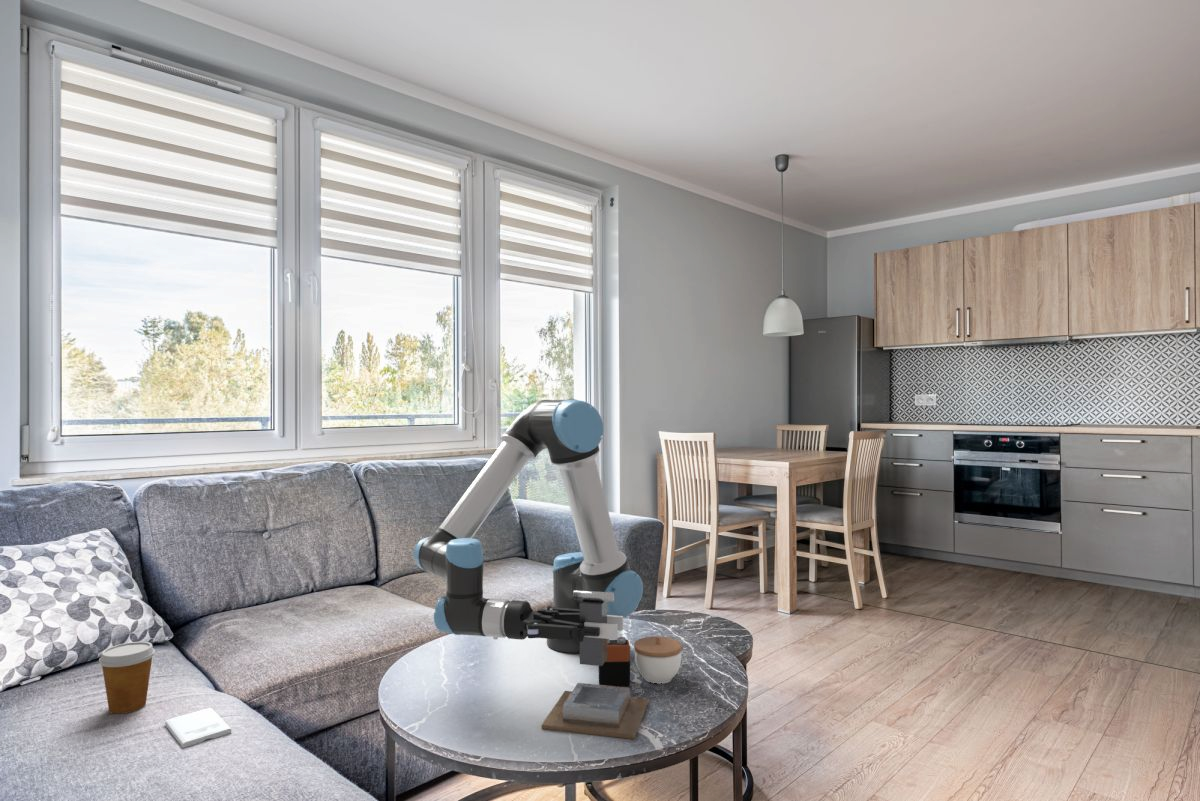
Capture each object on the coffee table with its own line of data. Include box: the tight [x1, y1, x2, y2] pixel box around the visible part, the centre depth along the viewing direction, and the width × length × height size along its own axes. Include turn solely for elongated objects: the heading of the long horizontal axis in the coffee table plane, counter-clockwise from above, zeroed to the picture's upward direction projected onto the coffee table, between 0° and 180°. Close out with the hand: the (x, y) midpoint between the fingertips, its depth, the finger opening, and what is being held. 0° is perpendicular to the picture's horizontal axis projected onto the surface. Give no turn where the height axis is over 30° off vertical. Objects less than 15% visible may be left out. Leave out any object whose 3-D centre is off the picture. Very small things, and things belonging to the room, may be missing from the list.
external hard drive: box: [164, 707, 232, 749], centre depth 134 cm, size 2×8×12 cm
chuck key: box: [573, 590, 614, 667], centre depth 139 cm, size 4×8×14 cm, turn 76°
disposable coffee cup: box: [98, 641, 156, 715], centre depth 144 cm, size 10×10×12 cm
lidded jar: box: [633, 635, 683, 685], centre depth 158 cm, size 11×11×9 cm
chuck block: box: [541, 682, 650, 740], centre depth 140 cm, size 16×18×4 cm
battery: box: [598, 636, 631, 688], centre depth 155 cm, size 4×7×10 cm, turn 92°
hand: (619, 627), depth 138 cm, fingers closed on chuck key, 4 cm apart
